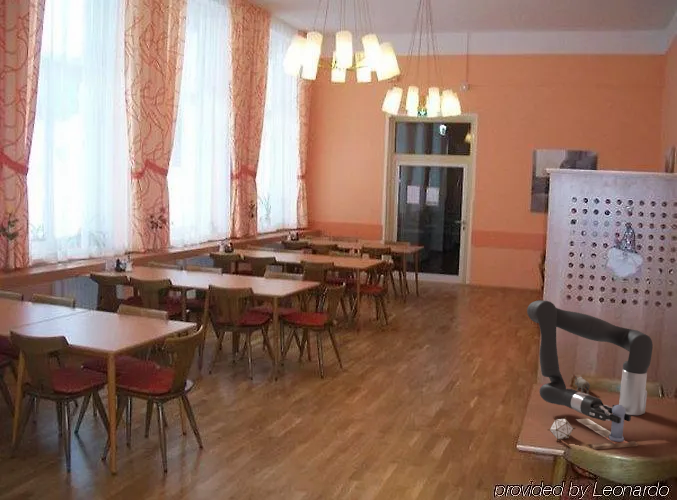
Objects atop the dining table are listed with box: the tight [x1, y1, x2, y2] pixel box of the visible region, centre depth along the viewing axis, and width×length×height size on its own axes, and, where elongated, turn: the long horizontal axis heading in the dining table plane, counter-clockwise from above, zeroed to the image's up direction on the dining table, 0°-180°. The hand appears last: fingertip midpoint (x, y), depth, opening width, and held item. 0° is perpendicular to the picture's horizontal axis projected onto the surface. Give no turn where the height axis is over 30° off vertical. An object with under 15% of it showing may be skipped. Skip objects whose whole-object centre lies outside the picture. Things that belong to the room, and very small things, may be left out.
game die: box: [547, 416, 576, 442], centre depth 260 cm, size 9×8×10 cm
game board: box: [575, 418, 639, 450], centre depth 268 cm, size 18×26×1 cm
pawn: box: [609, 404, 626, 442], centre depth 260 cm, size 5×5×13 cm
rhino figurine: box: [574, 376, 591, 395], centre depth 320 cm, size 4×14×6 cm, turn 1°
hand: (625, 419), depth 257 cm, fingers open, 4 cm apart
